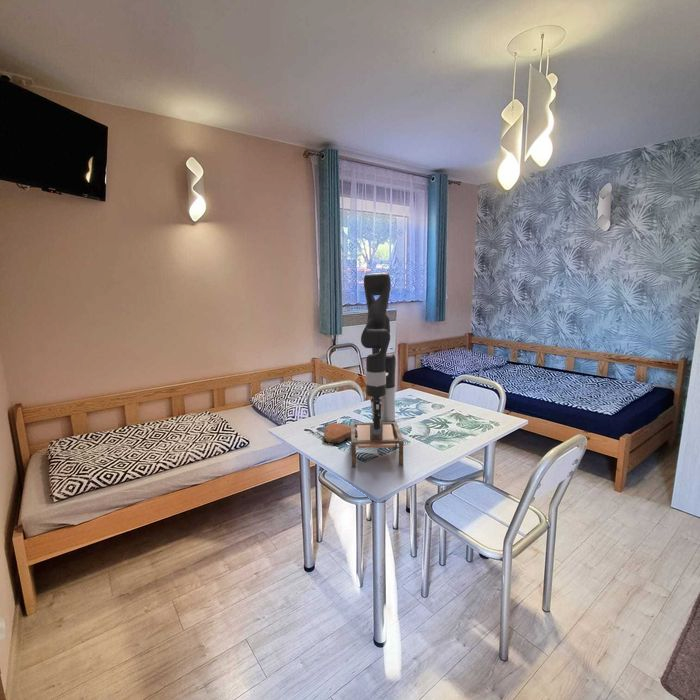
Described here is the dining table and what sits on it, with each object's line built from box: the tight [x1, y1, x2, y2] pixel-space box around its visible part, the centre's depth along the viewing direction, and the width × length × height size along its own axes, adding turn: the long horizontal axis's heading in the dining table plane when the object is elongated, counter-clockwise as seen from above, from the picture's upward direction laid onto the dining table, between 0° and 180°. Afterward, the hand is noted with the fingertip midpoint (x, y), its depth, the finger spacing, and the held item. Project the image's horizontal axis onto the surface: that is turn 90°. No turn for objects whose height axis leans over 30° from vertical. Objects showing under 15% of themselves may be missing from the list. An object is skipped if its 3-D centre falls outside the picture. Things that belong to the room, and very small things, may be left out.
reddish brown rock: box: [323, 422, 358, 444], centre depth 170 cm, size 15×6×15 cm
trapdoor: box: [356, 424, 397, 449], centre depth 150 cm, size 14×14×1 cm
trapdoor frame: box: [350, 421, 404, 468], centre depth 151 cm, size 19×19×10 cm
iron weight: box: [370, 422, 383, 440], centre depth 146 cm, size 5×5×6 cm
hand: (376, 424), depth 145 cm, fingers open, 6 cm apart
